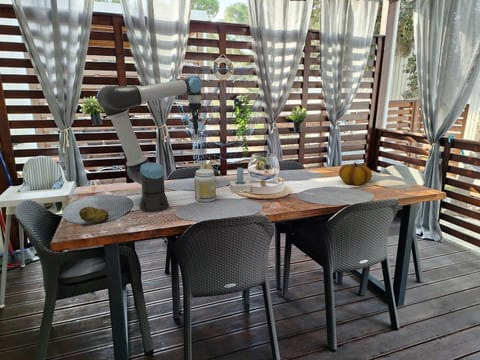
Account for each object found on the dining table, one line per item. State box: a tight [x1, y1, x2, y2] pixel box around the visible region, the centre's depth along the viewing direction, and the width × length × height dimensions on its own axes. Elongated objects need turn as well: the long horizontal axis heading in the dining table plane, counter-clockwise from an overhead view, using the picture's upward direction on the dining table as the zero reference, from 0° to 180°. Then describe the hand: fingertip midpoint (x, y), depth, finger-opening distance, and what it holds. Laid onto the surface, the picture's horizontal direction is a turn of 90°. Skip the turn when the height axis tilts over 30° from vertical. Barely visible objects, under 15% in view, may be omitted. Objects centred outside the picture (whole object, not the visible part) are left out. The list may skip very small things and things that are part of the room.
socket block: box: [229, 179, 252, 194], centre depth 208 cm, size 12×12×4 cm
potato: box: [78, 206, 109, 224], centre depth 155 cm, size 8×13×8 cm, turn 119°
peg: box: [236, 167, 244, 184], centre depth 207 cm, size 4×4×14 cm
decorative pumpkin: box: [338, 161, 373, 186], centre depth 224 cm, size 20×22×15 cm
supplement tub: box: [193, 168, 217, 203], centre depth 188 cm, size 12×12×17 cm
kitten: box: [198, 160, 215, 171], centre depth 221 cm, size 15×10×15 cm
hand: (195, 138), depth 200 cm, fingers open, 13 cm apart
